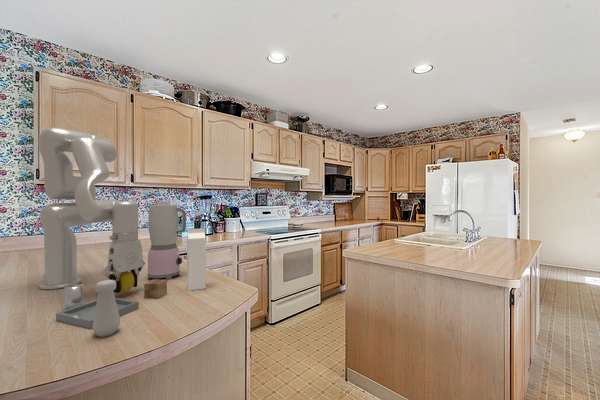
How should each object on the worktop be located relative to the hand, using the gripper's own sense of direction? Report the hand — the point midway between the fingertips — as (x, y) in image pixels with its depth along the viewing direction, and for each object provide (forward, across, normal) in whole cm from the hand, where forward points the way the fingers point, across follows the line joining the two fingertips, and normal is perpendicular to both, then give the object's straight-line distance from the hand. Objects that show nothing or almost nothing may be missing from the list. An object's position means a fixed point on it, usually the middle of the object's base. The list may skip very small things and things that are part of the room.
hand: (125, 288), depth 97 cm
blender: (+2, +22, +3) cm, 22 cm away
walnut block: (+2, +3, -11) cm, 11 cm away
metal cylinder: (+2, -14, +3) cm, 15 cm away
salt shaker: (+2, -21, -21) cm, 30 cm away
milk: (+2, +15, -18) cm, 23 cm away
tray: (+2, -14, -8) cm, 16 cm away
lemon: (+2, 0, 0) cm, 2 cm away
